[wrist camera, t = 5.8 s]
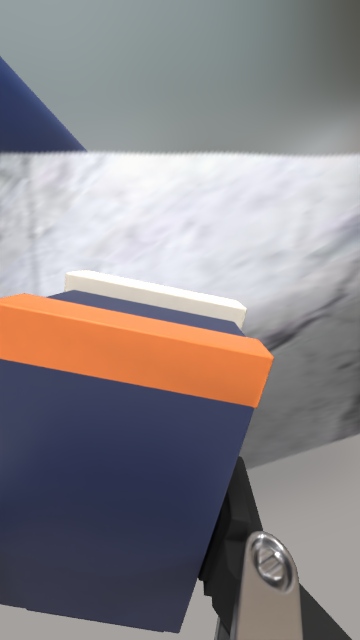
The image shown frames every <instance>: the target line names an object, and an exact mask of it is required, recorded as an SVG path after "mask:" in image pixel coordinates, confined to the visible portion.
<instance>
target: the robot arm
mask: <svg viewBox="0 0 360 640" xmlns="http://www.w3.org/2000/svg"><path fill="white" fill-rule="evenodd" d="M198 578H199V580H200V581H203V583H204V595H206V596H211V597H212V606H213V608H214V610H215V611H216V613H217V614H218V621H217V627H216V632H215V638H214V640H352V639H351V638H350V637H349V636H348V635H347V634H346V633H345V632H344V631H343V630H342V628H340V626H339V625H338V624H337V623H336V622H335V621H334V620H333V619H332V618H331V617H330V616H329V614H328V613H326V611H325V610H324V609H323V608H322V607H321V606H320V605H319V604H318V603H317V601H315V599H314V598H313V597H312V596H311V595H310V594H309V593H308V592H307V591H306V590H305V589H304V588H303V586H301V584H300V583H299V577H298V572H297V568H296V565H295V563H294V560H293V558H292V556H291V555H290V553H289V551H288V550H287V548H286V547H285V546H284V545H283V544H282V543H281V542H280V541H279V540H278V539H277V538H276V537H274V536H273V535H271V534H269V533H267V532H264V531H263V528H262V525H261V521H260V518H259V514H258V511H257V507H256V503H255V500H254V496H253V493H252V489H251V486H250V482H249V478H248V475H247V471H246V468H245V464H244V461H243V459H242V457H240V456H238V459H237V461H236V464H235V467H234V470H233V473H232V476H231V479H230V482H229V485H228V488H227V491H226V494H225V497H224V500H223V503H222V506H221V509H220V512H219V515H218V518H217V521H216V524H215V527H214V530H213V533H212V536H211V539H210V542H209V545H208V548H207V551H206V554H205V557H204V560H203V563H202V566H201V569H200V572H199V575H198Z"/></svg>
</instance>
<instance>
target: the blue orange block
mask: <svg viewBox="0 0 360 640" xmlns="http://www.w3.org/2000/svg"><path fill="white" fill-rule="evenodd" d="M246 311H247V309H246V308H245V307H244V306H243V305H241V304H240V303H239V302H238V301H236V300H232V299H227V298H222V297H217V296H212V295H207V294H202V293H197V292H192V291H187V290H182V289H177V288H172V287H167V286H162V285H157V284H152V283H147V282H142V281H137V280H133V279H128V278H123V277H118V276H113V275H108V274H103V273H98V272H93V271H88V270H84V271H74V272H67V273H66V276H65V292H63V293H60V294H56V295H52V296H49V297H40V296H35V295H30V294H25V293H24V294H19V295H14V296H10V297H5V298H0V604H2V605H8V606H13V607H20V608H26V609H27V610H30V611H35V612H41V613H48V614H54V615H60V616H67V617H72V618H78V619H85V620H90V621H97V622H103V623H109V624H115V625H121V626H127V627H133V628H139V629H146V630H152V631H158V632H164V631H166V632H173V633H179V632H180V629H181V626H182V623H183V620H184V617H185V613H186V611H187V608H188V605H189V602H190V599H191V596H192V593H193V590H194V587H195V584H196V581H197V578H198V575H199V572H200V569H201V566H202V563H203V560H204V557H205V554H206V551H207V548H208V545H209V542H210V539H211V536H212V533H213V530H214V527H215V524H216V521H217V518H218V515H219V512H220V509H221V506H222V503H223V500H224V497H225V494H226V491H227V488H228V485H229V482H230V479H231V476H232V473H233V470H234V467H235V464H236V461H237V459H238V456H239V453H240V450H241V447H242V444H243V441H244V438H245V435H246V432H247V429H248V426H249V423H250V420H251V417H252V414H253V411H254V408H257V407H258V404H259V401H260V398H261V395H262V392H263V389H264V386H265V383H266V380H267V377H268V374H269V371H270V368H271V365H272V362H273V360H274V358H273V356H272V355H271V353H270V352H269V351H268V350H267V349H266V348H265V347H264V346H263V344H262V343H261V342H260V341H259V340H257V339H252V338H247V337H246V336H245V335H244V334H243V333H242V331H241V329H242V325H243V322H244V318H245V315H246Z"/></svg>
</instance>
